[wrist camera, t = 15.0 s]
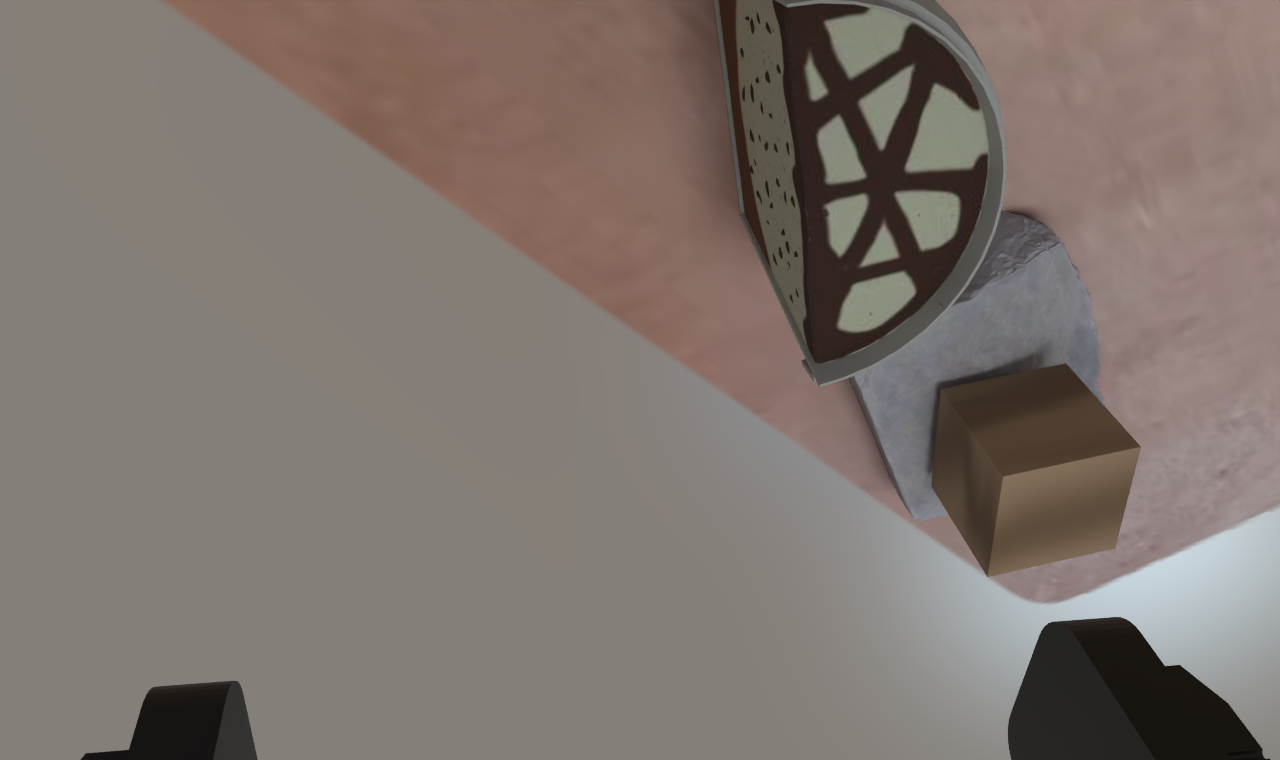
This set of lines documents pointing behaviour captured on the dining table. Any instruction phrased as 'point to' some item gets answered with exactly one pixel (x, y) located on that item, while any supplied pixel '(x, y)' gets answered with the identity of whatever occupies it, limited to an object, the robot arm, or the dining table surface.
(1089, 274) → the dining table surface
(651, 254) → the dining table surface
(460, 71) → the dining table surface
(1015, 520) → the walnut block
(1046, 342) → the stone block
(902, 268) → the food container
